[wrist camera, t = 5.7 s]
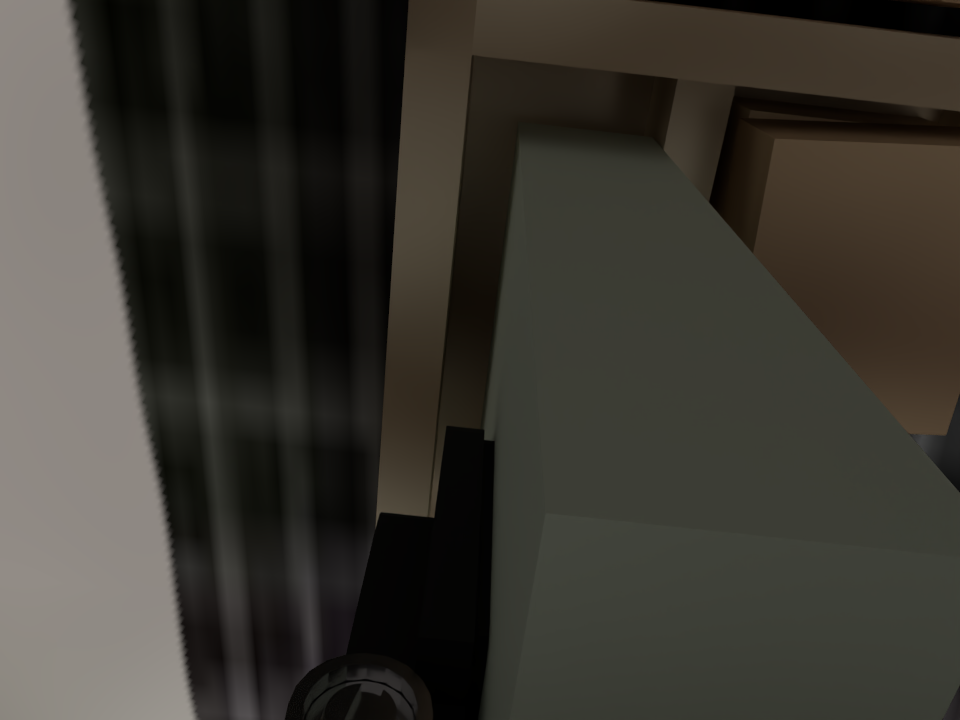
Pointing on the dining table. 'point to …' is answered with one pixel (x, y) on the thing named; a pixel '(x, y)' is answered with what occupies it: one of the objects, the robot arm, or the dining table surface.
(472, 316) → the rack
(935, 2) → the stand
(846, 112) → the offcut
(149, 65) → the dining table surface
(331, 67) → the dining table surface
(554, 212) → the grey-green flat slab
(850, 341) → the offcut
